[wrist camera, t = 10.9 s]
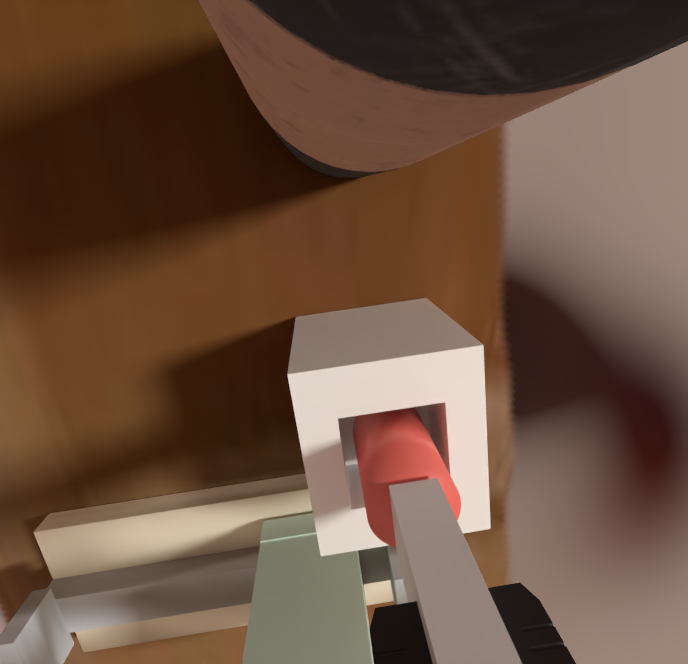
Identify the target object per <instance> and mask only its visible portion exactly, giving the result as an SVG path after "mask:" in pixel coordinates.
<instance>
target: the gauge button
mask: <svg viewBox="0 0 688 664" xmlns="http://www.w3.org/2000/svg"><path fill="white" fill-rule="evenodd" d="M353 440H354V445H355V451H356V457H357V463H358V468H359V474H360V480H361V486H362V491H363V497H364V503H365V509H366V514H367V520H368V523H369V526H370V528H371V530H372V532H373V533H374V534H375V535H376V536H377V537H378V538H379V539H380V540H381V541H383V542H384V543H386V544H388V545H390V546H393V547H396V541H395V533H394V525H393V516H392V508H391V499H390V491H389V485H395V484H401V483H407V482H414V481H420V480H426V479H433V478H438V480H439V483H440V485H441V487H442V489H443V491H444V493H445V496H446V498H447V500H448V502H449V504H450V507H451V509H452V511H453V513H454V515H455V518H456V520H458V518H459V515H460V511H461V499H460V495H459V492H458V490H457V488H456V486H455V484H454V482H453V480H452V478H451V476H450V474H449V472H448V470H447V468H446V466H445V464H444V462H443V460H442V458H441V456H440V454H439V452H438V450H437V448H436V446H435V444H434V442H433V440H432V439H431V437H430V435H429V433H428V431H427V429H426V427H425V425H424V423H423V421H422V419H421V417H420V415H419V413H418V412H417V410H416V409H415V408H414V407H411V408H404V409H398V410H391V411H385V412H378V413H372V414H365V415H359V416H357V417H356V419H355V421H354V424H353Z"/></svg>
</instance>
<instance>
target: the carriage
mask: <svg viewBox="0 0 688 664" xmlns="http://www.w3.org/2000/svg"><path fill="white" fill-rule="evenodd" d="M242 664H374V660H373V653H372V645H371V638H370V629H369V621H368V613H367V606H366V599H365V591H364V585H363V581H362V574H361V568H360V561H359V554H358V550H357V551H351V552H345V553H339V554H333V555H326V556H321V555H320V549H319V544H318V538H317V533H316V528H315V522H314V517H313V513H311V514H305V515H298V516H292V517H286V518H280V519H273V520H267V521H263V526H262V533H261V539H260V549H259V556H258V562H257V569H256V575H255V582H254V589H253V595H252V602H251V608H250V615H249V621H248V628H247V634H246V641H245V647H244V654H243V660H242Z"/></svg>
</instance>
